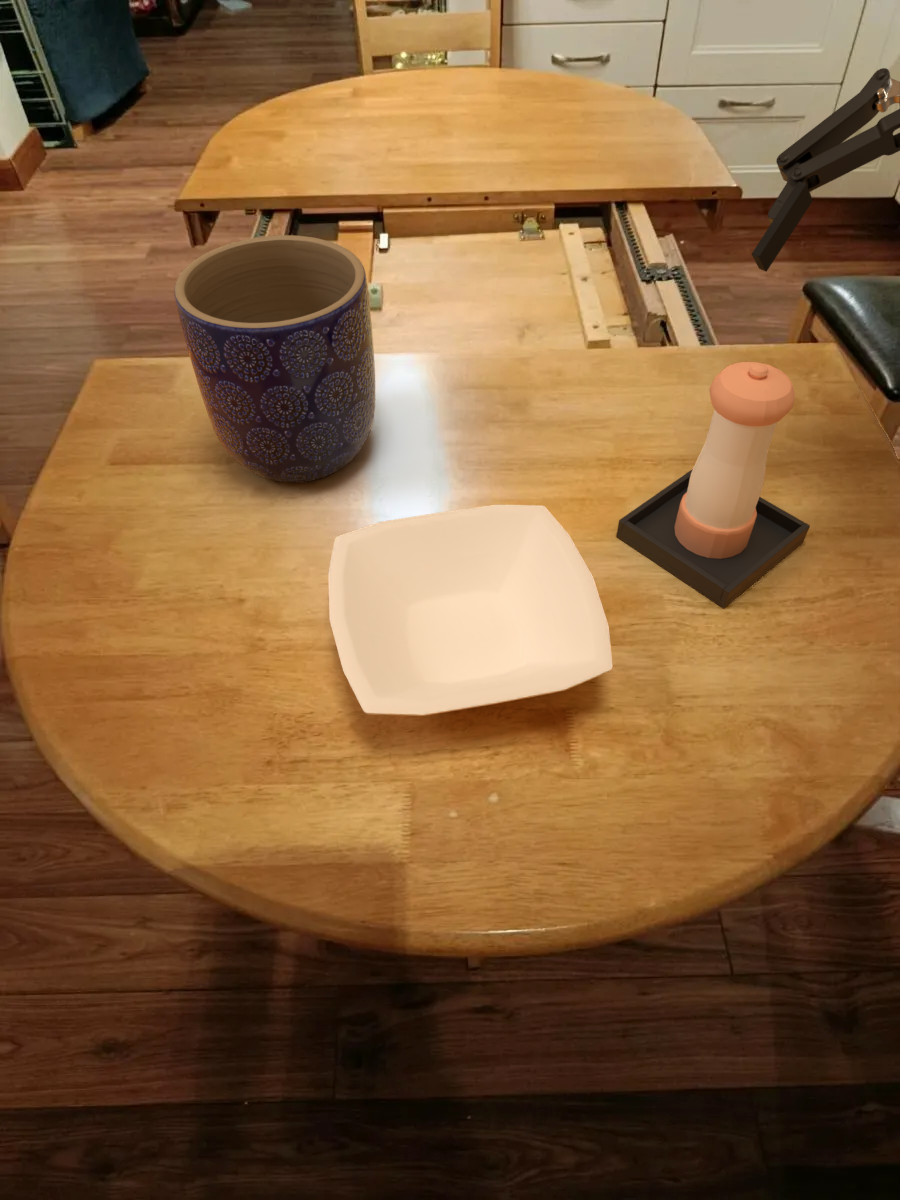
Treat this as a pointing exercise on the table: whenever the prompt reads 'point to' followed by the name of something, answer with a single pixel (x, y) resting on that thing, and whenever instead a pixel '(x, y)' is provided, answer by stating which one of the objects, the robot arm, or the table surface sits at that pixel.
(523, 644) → the bowl
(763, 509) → the tray
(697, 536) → the pepper shaker
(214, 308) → the planter
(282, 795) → the table surface
